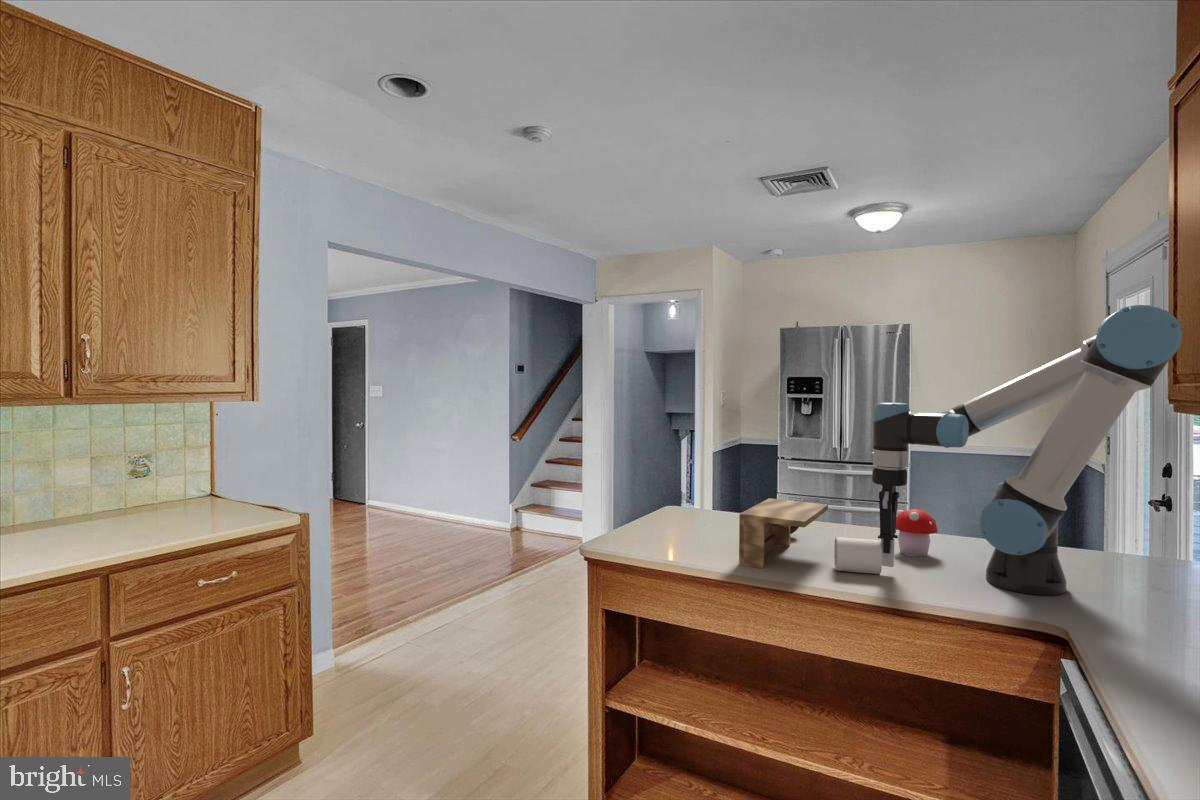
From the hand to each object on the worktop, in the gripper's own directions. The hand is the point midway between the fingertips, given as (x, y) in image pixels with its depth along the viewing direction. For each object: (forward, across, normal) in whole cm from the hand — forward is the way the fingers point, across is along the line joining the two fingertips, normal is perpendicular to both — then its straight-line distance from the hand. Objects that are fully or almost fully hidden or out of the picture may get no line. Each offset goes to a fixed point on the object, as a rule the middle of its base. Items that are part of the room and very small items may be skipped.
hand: (887, 565), depth 149 cm
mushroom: (+2, -24, +4) cm, 24 cm away
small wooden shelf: (+2, 0, -24) cm, 25 cm away
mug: (+2, 0, -7) cm, 7 cm away
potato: (+3, -22, -31) cm, 38 cm away
